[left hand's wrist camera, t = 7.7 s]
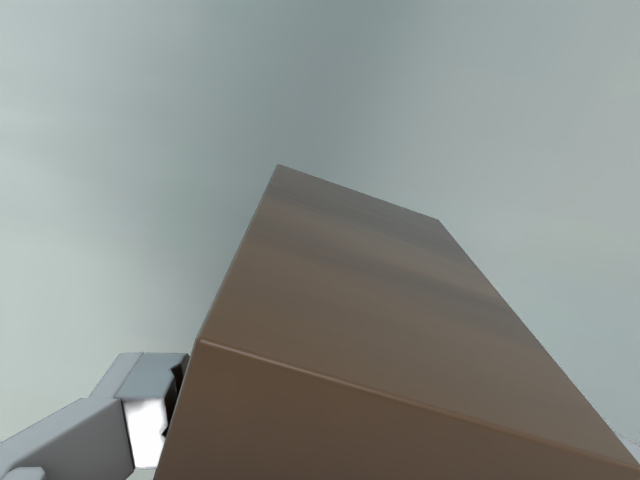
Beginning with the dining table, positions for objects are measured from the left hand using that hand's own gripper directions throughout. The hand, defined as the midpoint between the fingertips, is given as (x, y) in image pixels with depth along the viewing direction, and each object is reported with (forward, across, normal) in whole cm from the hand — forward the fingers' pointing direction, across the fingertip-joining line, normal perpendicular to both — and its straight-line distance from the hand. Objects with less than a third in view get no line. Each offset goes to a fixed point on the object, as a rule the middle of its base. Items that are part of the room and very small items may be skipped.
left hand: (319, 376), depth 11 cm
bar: (+4, -3, -8) cm, 9 cm away
